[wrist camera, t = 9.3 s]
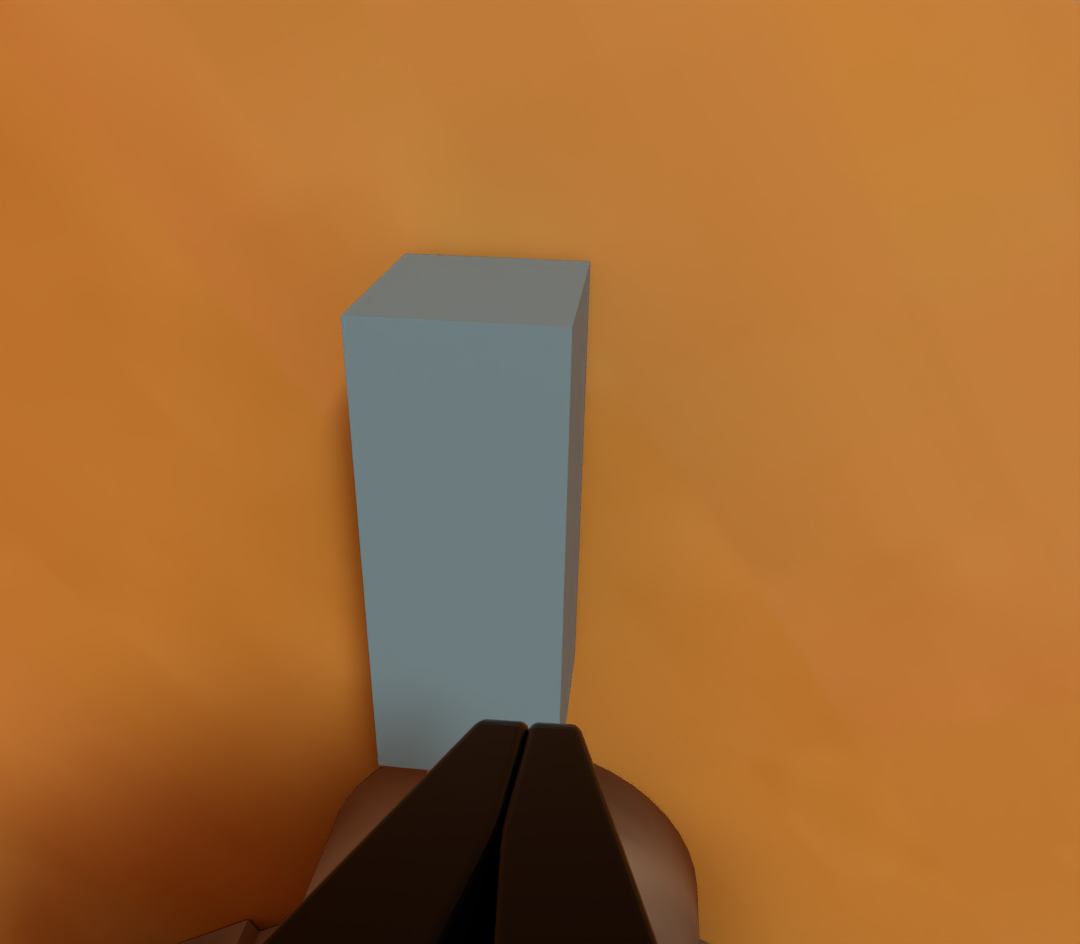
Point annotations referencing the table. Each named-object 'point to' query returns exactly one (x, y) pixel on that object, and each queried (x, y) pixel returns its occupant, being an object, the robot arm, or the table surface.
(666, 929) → the wooden three-arm spinner
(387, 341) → the grey long block
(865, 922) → the table surface
